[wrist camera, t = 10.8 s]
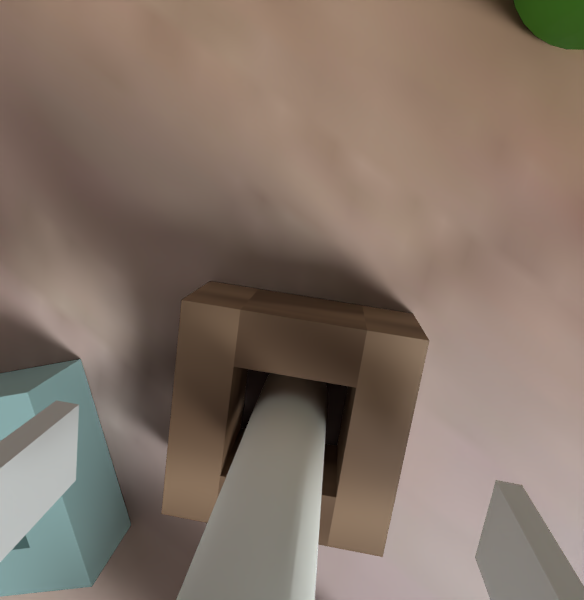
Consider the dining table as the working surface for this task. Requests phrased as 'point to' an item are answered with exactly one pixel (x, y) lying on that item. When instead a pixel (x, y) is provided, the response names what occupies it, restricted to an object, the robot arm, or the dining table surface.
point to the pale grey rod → (268, 502)
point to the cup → (554, 21)
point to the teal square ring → (78, 497)
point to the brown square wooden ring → (302, 364)
